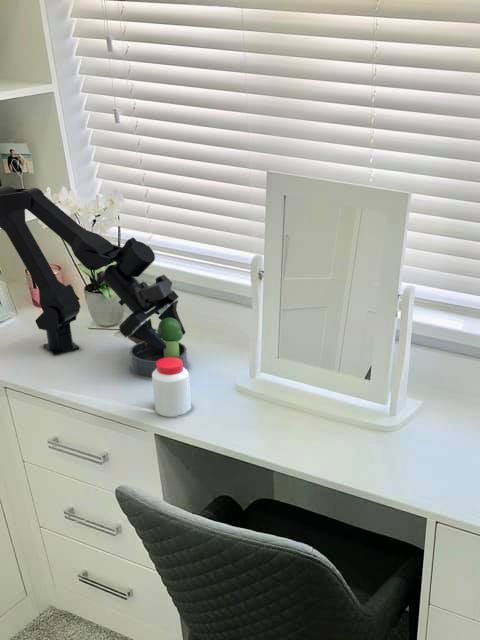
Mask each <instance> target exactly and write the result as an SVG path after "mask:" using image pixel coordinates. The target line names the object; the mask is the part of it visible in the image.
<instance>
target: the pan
mask: <svg viewBox="0 0 480 640" xmlns="http://www.w3.org/2000/svg"><path fill="white" fill-rule="evenodd" d="M162 340H163V339H162ZM145 343H147V342H144V341H143V342H140V343H138V344H136V343H135V344H133V346H132V347H130V350H129V358H130V367H131V369H132V372H134V373H135V374H136V375H139V376H140V377H141V376H142V377H145V378H151V379H152V373H153V371H154V370H155V369H156V368H157V366H156V362H157V361H158V360H159V359H162V358H164V351H163V349H160V348H158V347H156V346H154V345H151V344H149V343H147V344H148V346H147V347H146V348H145V347H144V344H145ZM187 349H188V348H187V347H186V345H184V344H183V343H181V342H180V341H179V355H180V356H179V357H177V358H179V359H181V360H182V361H183V367H184V368H185V369H187V368H188V364H189V363H188V362H189V361H188V351H187Z"/></svg>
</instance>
